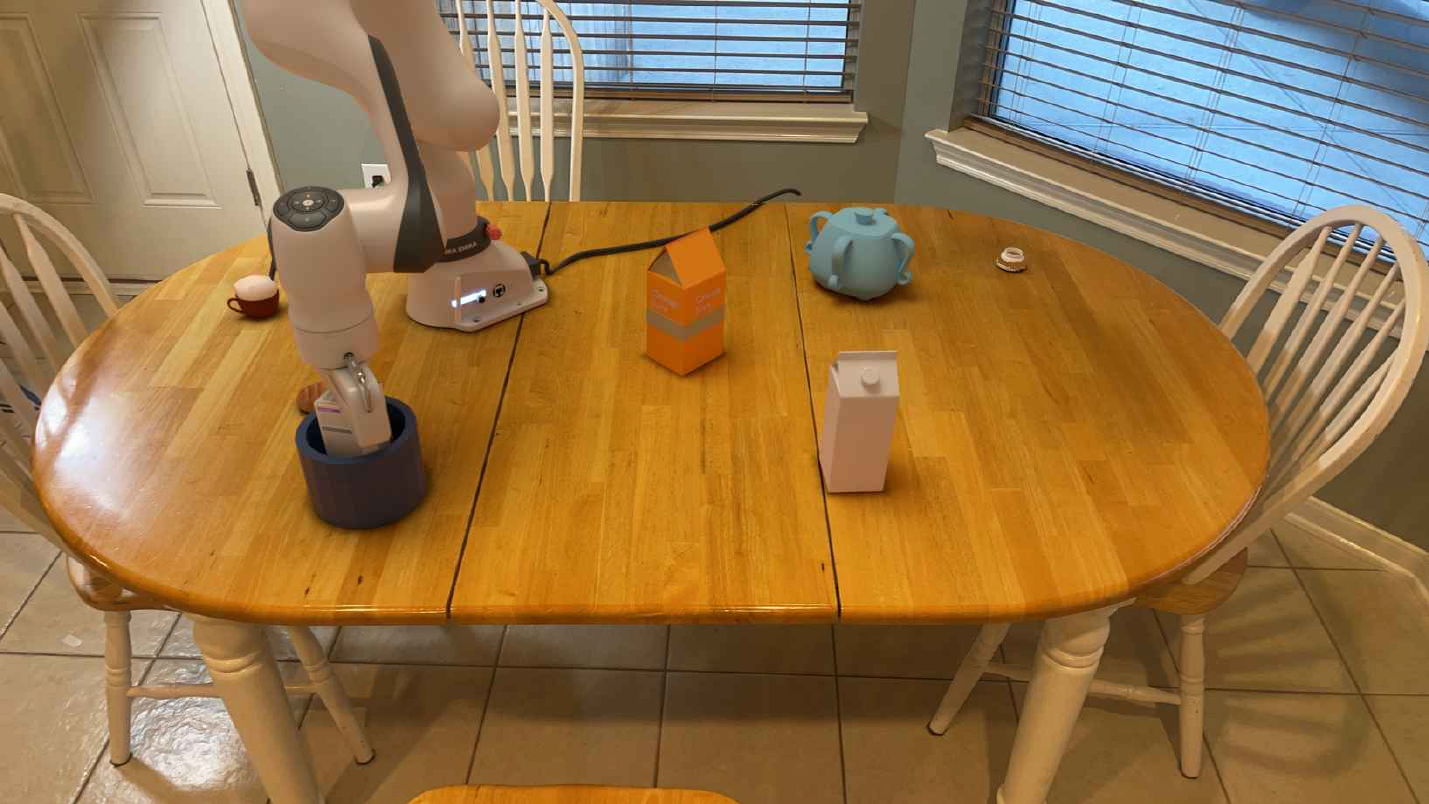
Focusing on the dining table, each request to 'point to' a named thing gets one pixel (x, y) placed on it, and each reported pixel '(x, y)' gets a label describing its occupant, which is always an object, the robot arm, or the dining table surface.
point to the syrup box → (339, 428)
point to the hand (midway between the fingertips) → (358, 433)
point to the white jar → (1011, 258)
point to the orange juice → (686, 303)
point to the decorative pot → (859, 252)
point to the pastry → (310, 396)
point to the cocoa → (257, 295)
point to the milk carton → (859, 420)
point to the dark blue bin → (364, 474)
